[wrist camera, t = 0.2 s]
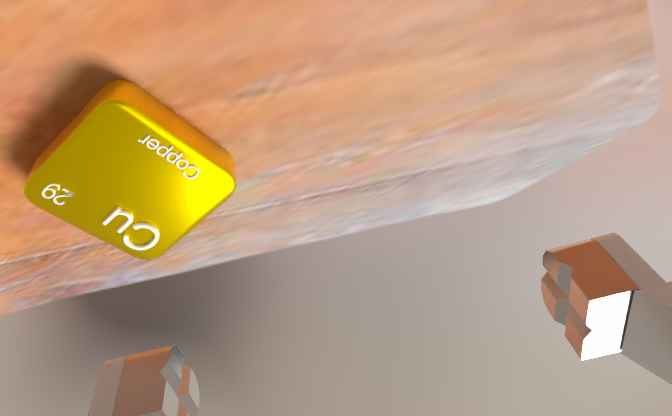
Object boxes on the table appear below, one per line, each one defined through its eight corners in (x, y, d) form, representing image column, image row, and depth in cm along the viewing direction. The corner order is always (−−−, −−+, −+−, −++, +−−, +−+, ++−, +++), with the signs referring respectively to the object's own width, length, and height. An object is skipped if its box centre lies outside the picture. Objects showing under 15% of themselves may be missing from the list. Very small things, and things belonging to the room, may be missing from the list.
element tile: (243, 160, 55) (245, 188, 52) (153, 239, 60) (149, 270, 57) (118, 68, 47) (110, 93, 43) (25, 169, 52) (11, 199, 48)
